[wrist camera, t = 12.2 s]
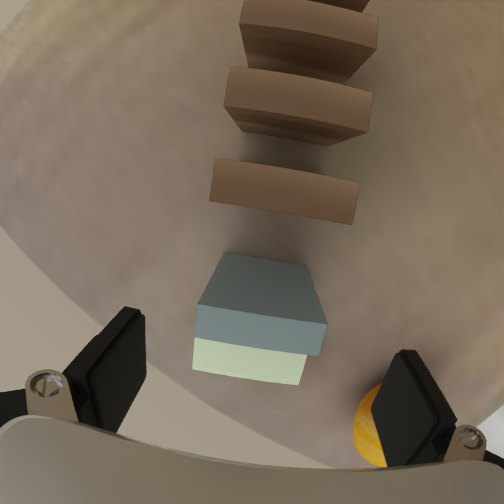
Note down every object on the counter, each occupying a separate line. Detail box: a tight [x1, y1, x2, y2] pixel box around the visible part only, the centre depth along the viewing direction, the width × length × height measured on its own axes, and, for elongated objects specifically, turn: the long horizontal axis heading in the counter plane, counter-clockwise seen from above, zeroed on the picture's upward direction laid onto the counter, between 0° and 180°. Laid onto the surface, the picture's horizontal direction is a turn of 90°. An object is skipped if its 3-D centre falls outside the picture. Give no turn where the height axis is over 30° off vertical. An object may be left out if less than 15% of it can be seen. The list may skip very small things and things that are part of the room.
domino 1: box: [239, 0, 378, 85], centre depth 15 cm, size 2×6×9 cm, turn 82°
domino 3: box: [209, 158, 360, 225], centre depth 17 cm, size 2×6×9 cm, turn 81°
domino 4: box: [195, 252, 328, 356], centre depth 18 cm, size 2×6×9 cm, turn 81°
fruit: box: [352, 383, 446, 467], centre depth 22 cm, size 9×8×8 cm
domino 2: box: [224, 66, 373, 146], centre depth 16 cm, size 2×6×9 cm, turn 81°
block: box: [192, 338, 307, 385], centre depth 23 cm, size 3×8×3 cm, turn 81°
